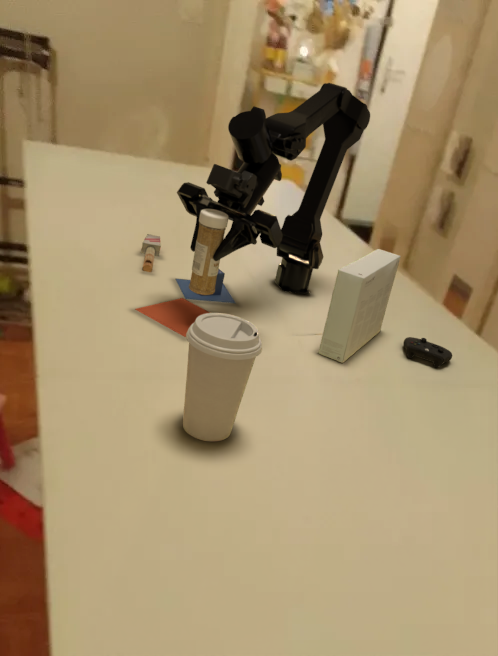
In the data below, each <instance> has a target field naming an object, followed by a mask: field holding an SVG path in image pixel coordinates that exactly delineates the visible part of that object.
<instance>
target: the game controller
mask: <svg viewBox="0 0 498 656" xmlns="http://www.w3.org/2000/svg"><path fill="white" fill-rule="evenodd" d="M403 347H404V348H405V353H406V357H407V358H408V359H412V358H413V357H417V358H421V359H423V360H426V361H429V362H432V363H433V367H434V368H440V367H441V366H442V365H444V364H445V363H448V362H450V361H451V360H452V359H453V353H452V351H450V350H449V349H447V348H445V347H443V346H441V345H439V344H436V343H433V342H430V341H427V338H425V337H421V338H418V337H414V336H413V337H412V336H408V337H405V338H404V340H403Z"/></svg>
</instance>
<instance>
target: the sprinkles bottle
mask: <svg viewBox="0 0 498 656" xmlns="http://www.w3.org/2000/svg"><path fill="white" fill-rule="evenodd" d="M228 223H229V219H228V215H227V214H226V213H224V212H222V211H218V210H214V209H203V210H201V212H200V217H199V230H198V236H197V240H196V246H195V251H194V252H193V259H192V266H191V275H190V280H191V281H190V284H189V289H190V290H191V291H193V292H195V293H197V294H202V295H210V294H213V293H214V292H215V284H216V278H217V274H218V269H220V262H221V259H220V260H218V261H214V259H213V255H214V253H215V252H216V250H217V248H218V247H219V245H220V244H221V242H222V241H223V239H224V238H225V233H226V229H227V228H228Z"/></svg>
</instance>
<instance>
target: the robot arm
mask: <svg viewBox="0 0 498 656" xmlns="http://www.w3.org/2000/svg"><path fill="white" fill-rule="evenodd" d="M370 122H371V112H370V110H369V109H368V105H367V103H365V102H363V101H362V100H360V99H359V98H357V97H356V96H355V95H353V93H352V92H351V90H349V89H348V88H347V87H346V86H341V85H338V84H335V83H331V82H324V83H323V84H322V85H321V87H320V89H319V90H318V91H317V92H315V93H314V94H313V95H311V96H310V97H308V99H306V100H305V101H303V102H302V103H301V104H300V105H298V106H297V107H295V108H294V109H293V110H291V111H289V112H277V113H274V114H271V115H269V116H267V115H266V111H265V109H264V108H262V107H257V106H255V105H254V106H252V108H251V109H250V110H246V111H242V112H239V113H237V114H236V115H235V116H232V117H231V119H230V120H229V122H228V126H227V128H228V132H229V135H230V138H231V141H232V144H233V146H234V149H235V151H236V154H237V157H238V159H239V160H240V161H241V162H243V163H242V165H241V166H240V168H239V169H238V170H237V171H235V170H233V169H230V168H227V167H225V166H222V165H219V164H216V163H213V165H212V168H211V170H210V172H209V174H208V177H207V180H206V182H205V183H206V184H207V185H208V186H209V185H210V186H211V187H213V188H214V189H215V190H214V191H213V194H214V196H215V198H218V200H217V201H216V200H213V198H212V197H210V196H209V195H208V192H207V190H206V188H205V187H202V186H199V185H197V184H194V183H192V182H189V181H188V182H183V183H182V184H181V185H180V186H179V188H178V190H177V191H176V194H177V196H178V198H179V199H180V201H181V203H182V206H183V207H184V209H185V211H186V212H187V213H188V214H189V215H191V216H193V217H196V220H195V226H194V231H193V235H192V238H191V243H190V248H189V249H190V250H191V252H192V253H194V252H195V246H196V240H197V236H198V230H199V217H200V212H201V210H203V209H214V210H218V211H222V212H224V213H226V214H227V215H228V221H231V222H232V223H231V226H230V229H229V231H228V232H227V233H226V235H224V239H223V241H222V242H221V244H220V245H219V247H218V248H217V250H216V252H215V253H214V255H213V259H214V261H218V260H220V261H221V259H223V258H225V257H227V256H228V255H230V254H232V253H234V252H236V251H238V250H241V249H243V248H245V247H247V246H249V245H253V246H254V245H257V244H258V240H257V239H258V237H259V239H260V242H261V244H263V245H265V246H268V247H270V248H273V249H276V256H277V257H280V258H281V262H280V263H278V265H277V269H276V275H275V278H273V281H274V283H275V284H276V286H278V288H279V289H280V290H281V292H284V293H291V294H296V295H305V296H306V295H307V296H310V295H311V291H310V290H309V286H310V283H311V279H312V275H313V271H314V270H319V269H320V266H321V264H322V263H323V260H324V253H323V249H322V245H321V241H322V236H323V229H322V221H321V219H322V216H323V213H324V210H325V208H326V205H327V203H328V200H329V198H330V195H331V193H332V190H333V187H334V184H335V182H336V179H337V177H338V175H339V172H340V170H341V166H342V164H343V162H344V159H345V156H346V154H347V151H348V150H349V149H350V148H351V147H353V146H354V145H355V144H356V143H358V141H360V139H361V138H362V135H363V134H364V131H365V130H366V129H367V127H369V124H370ZM321 126H322V128H323V133H324V141H323V144H322V147H321V150H320V152H319V154H318V156H317V160H316V163H315V165H314V168H313V171H312V173H311V176H310V178H309V180H308V184H307V187H306V189H305V192H304V194H303V197H302V199H301V201H300V205H299V207H298V209H297V210H296V211H295V212H293V214H287V215H286V217H285V218H284V219H283V224H282V226H281V225H280V222H279V219H278V216H277V215H275V214H272V213H270V212H267V211H264V210H262V209H256V208H257V207H258V206H260V207H262V206H263V204H264V203H265V198H264V196H265V194H266V193H267V191H268V190H269V188H271V187H270V186H271V185H272V184H273V182H274V181H278V182H281V181H282V178H283V173H282V164H281V163H280V160H279V158H282V159H284V160H287V161H291V162H292V161H294V160H295V159H297V158H298V156H300V154H301V153H302V152H303V151H304V150H305V149H306V147H307V138H308V137H309V136H310V135H311V134H312V133H313V132H315V131H316V130H317V129H319V128H320V127H321ZM278 157H279V158H278Z"/></svg>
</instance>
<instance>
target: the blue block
mask: <svg viewBox="0 0 498 656" xmlns="http://www.w3.org/2000/svg"><path fill="white" fill-rule="evenodd" d="M225 275H226V274H225V272H223V270H221V269H220V268H219V269H218V274H217V278H216V284H215V292H214V293H213V294H210V295H221V291H222V285H223V284H224V280H225ZM199 295H202V294H199Z"/></svg>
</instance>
